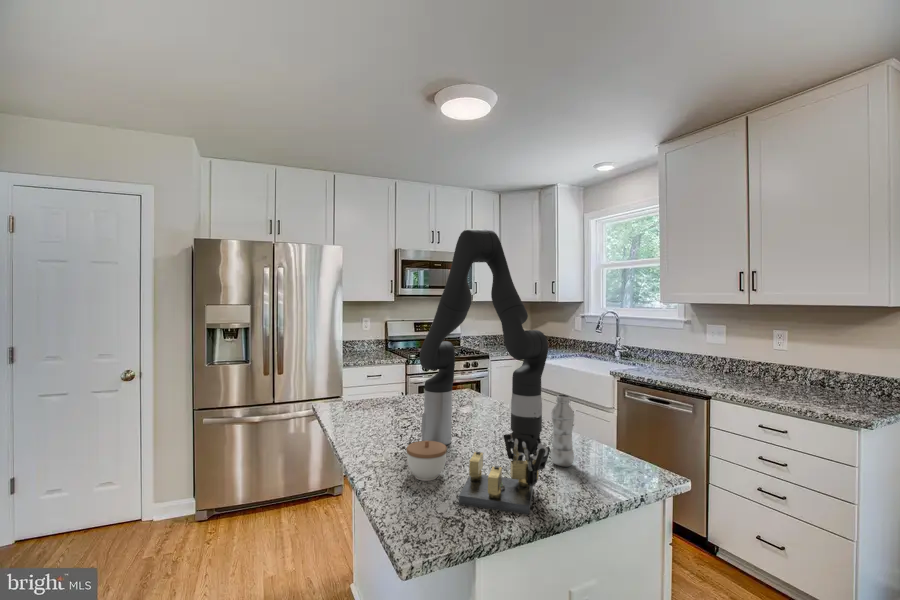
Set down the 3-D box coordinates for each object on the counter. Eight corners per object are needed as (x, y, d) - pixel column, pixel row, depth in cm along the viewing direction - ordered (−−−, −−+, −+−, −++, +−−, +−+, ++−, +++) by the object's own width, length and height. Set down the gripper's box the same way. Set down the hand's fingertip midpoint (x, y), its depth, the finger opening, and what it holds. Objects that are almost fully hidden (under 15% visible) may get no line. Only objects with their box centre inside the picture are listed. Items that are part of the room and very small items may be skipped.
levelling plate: (458, 504, 97) (459, 489, 97) (470, 481, 109) (470, 468, 109) (529, 514, 93) (529, 499, 93) (533, 489, 105) (533, 476, 105)
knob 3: (512, 487, 101) (512, 463, 101) (510, 482, 104) (510, 459, 104) (538, 486, 102) (538, 463, 102) (535, 481, 105) (535, 458, 105)
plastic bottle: (561, 471, 117) (562, 399, 117) (545, 462, 123) (546, 394, 123) (578, 467, 120) (580, 397, 120) (562, 459, 126) (563, 392, 126)
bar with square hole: (498, 502, 93) (499, 477, 93) (486, 501, 94) (486, 475, 94) (502, 490, 99) (503, 466, 99) (491, 488, 100) (491, 464, 100)
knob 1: (479, 484, 103) (479, 460, 103) (467, 482, 103) (468, 459, 103) (483, 473, 109) (484, 451, 109) (473, 472, 109) (473, 450, 109)
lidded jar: (399, 480, 109) (399, 444, 109) (416, 465, 119) (417, 432, 119) (437, 487, 105) (438, 450, 105) (452, 471, 115) (452, 437, 115)
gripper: (495, 407, 107) (494, 475, 107) (537, 421, 95) (536, 497, 95) (516, 403, 111) (515, 468, 111) (559, 416, 99) (558, 488, 99)
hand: (525, 481), depth 103 cm, fingers closed on knob 3, 3 cm apart
